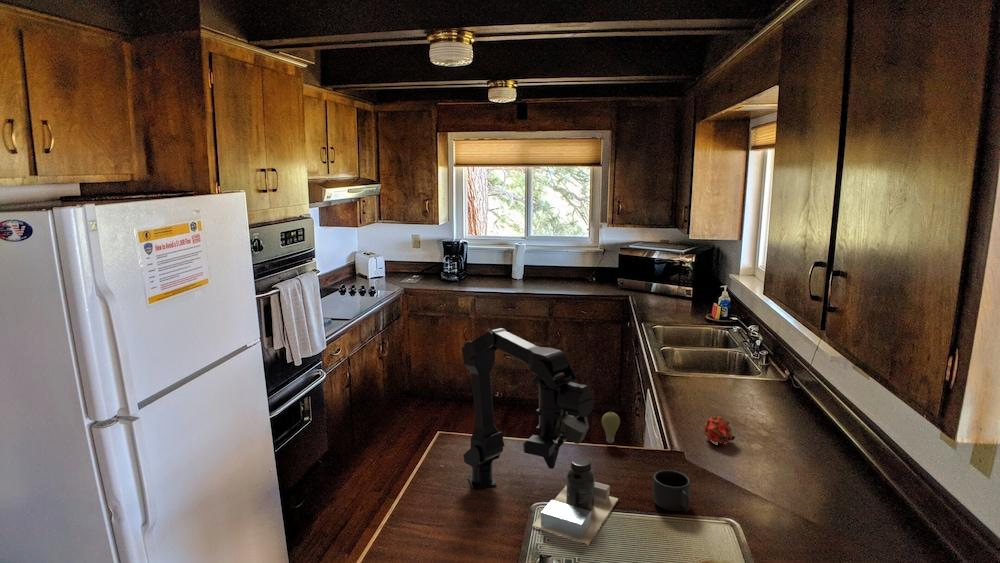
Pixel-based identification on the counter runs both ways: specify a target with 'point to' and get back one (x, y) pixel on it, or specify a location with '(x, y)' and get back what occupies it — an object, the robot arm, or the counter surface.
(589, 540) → the vise
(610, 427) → the light bulb
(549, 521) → the sliding jaw
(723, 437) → the dragon fruit
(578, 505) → the supplement bottle
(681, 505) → the mug
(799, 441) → the counter surface
